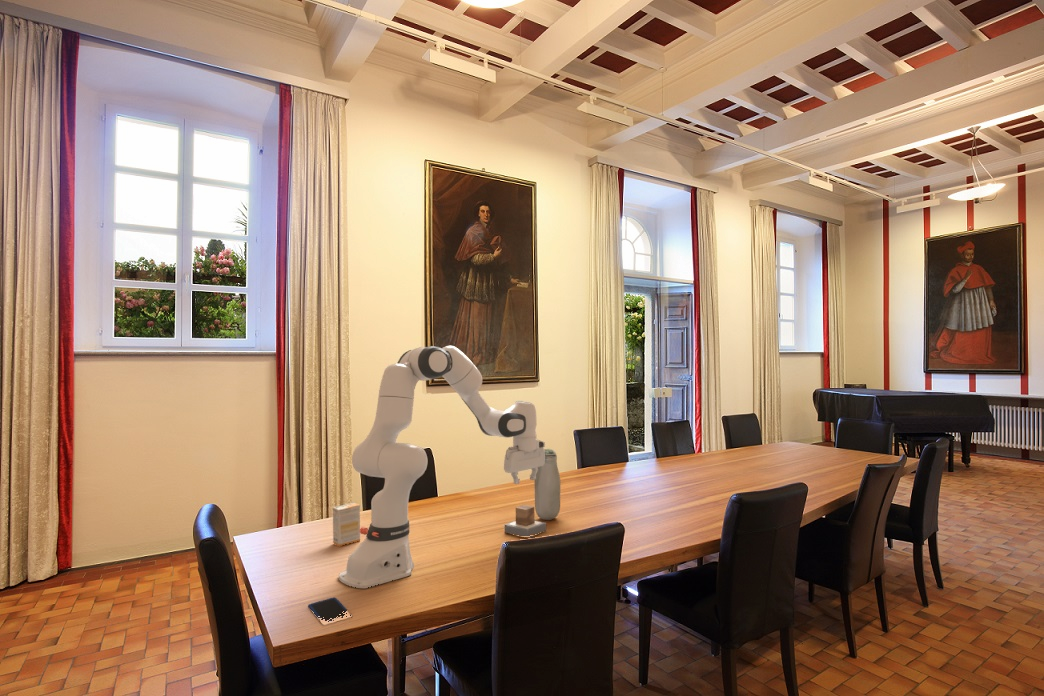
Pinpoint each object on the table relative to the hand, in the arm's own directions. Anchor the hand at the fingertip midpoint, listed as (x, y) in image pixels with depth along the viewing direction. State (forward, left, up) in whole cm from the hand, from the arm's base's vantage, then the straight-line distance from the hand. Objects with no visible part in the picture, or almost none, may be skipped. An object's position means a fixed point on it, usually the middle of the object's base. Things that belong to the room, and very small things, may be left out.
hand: (524, 481), depth 200 cm
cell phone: (-80, 0, -19) cm, 82 cm away
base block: (0, 0, -19) cm, 19 cm away
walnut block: (0, 0, -16) cm, 16 cm away
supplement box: (-48, +43, -19) cm, 67 cm away
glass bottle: (+18, +3, -19) cm, 27 cm away
